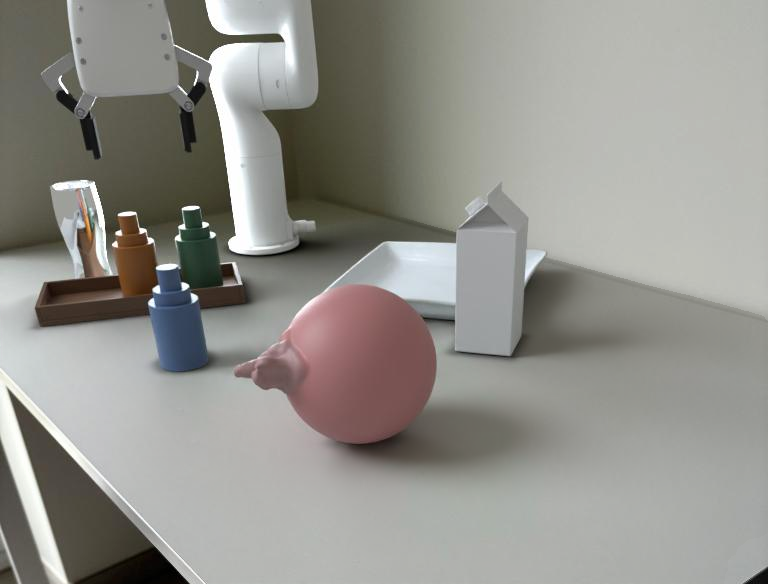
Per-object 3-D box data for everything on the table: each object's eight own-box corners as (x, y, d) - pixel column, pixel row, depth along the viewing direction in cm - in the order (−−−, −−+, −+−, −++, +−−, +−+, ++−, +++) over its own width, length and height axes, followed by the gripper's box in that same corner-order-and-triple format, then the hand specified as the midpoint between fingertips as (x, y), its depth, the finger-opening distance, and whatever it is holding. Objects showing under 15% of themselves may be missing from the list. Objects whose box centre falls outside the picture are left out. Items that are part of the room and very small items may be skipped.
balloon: (231, 424, 86) (209, 283, 77) (405, 392, 91) (402, 256, 82) (261, 495, 74) (239, 337, 65) (460, 453, 79) (463, 301, 70)
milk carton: (521, 336, 104) (531, 181, 93) (510, 357, 98) (519, 195, 88) (468, 332, 106) (471, 179, 95) (454, 352, 100) (456, 193, 90)
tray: (238, 279, 129) (235, 261, 127) (245, 303, 119) (242, 284, 117) (48, 299, 123) (43, 281, 122) (39, 326, 113) (34, 307, 112)
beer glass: (63, 286, 129) (38, 188, 120) (92, 273, 134) (69, 178, 126) (98, 290, 126) (74, 190, 118) (126, 277, 132) (105, 180, 123)
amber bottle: (164, 288, 124) (148, 207, 117) (164, 300, 119) (148, 216, 112) (124, 292, 122) (106, 211, 116) (123, 305, 118) (104, 220, 111)
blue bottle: (207, 350, 104) (191, 257, 97) (210, 368, 99) (193, 271, 92) (160, 356, 103) (141, 262, 96) (160, 374, 98) (140, 277, 91)
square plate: (384, 261, 134) (383, 238, 131) (547, 272, 125) (549, 247, 123) (319, 317, 113) (317, 289, 110) (511, 334, 104) (513, 305, 102)
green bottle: (222, 281, 125) (210, 201, 119) (225, 293, 120) (213, 210, 114) (183, 285, 124) (169, 205, 117) (185, 298, 119) (170, 214, 113)
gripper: (196, -36, 83) (220, 143, 92) (21, -30, 80) (65, 155, 89) (200, -39, 77) (225, 153, 86) (10, -33, 74) (58, 166, 83)
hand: (143, 154), depth 88 cm, fingers open, 9 cm apart
